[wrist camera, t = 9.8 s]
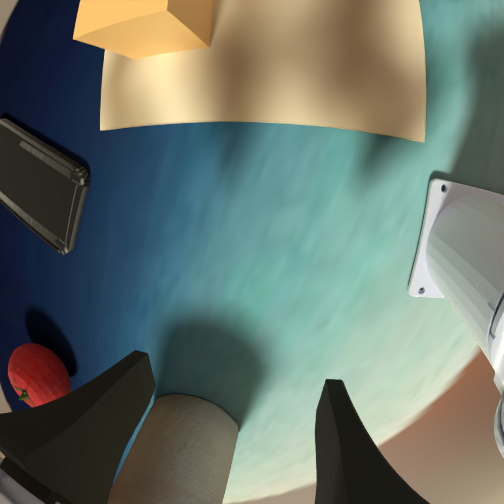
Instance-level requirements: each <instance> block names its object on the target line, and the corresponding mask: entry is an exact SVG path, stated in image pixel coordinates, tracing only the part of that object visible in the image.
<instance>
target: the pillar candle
mask: <svg viewBox="0 0 504 504" xmlns="http://www.w3.org/2000/svg"><path fill="white" fill-rule="evenodd" d="M238 431H239V429H238V425H237V423H236V422H235V421H234V420H233V419H232V418H231V417H230V416H229V415H228V414H227V413H226V412H225V411H224V410H223V409H221V408H220V407H218V406H217V405H215V404H213V403H211V402H209V401H206V400H204V399H200V398H197V397H194V396H189V395H183V394H170V395H165V396H162V397H159V398H157V399H156V400H155V401H154V403H153V405H152V407H151V409H150V411H149V413H148V415H147V416H146V418H145V420H144V422H143V424H142V426H141V429H140V430H139V432H138V434H137V436H136V438H135V441H134V443H133V445H132V447H131V449H130V451H129V453H128V455H127V457H126V459H125V461H124V464H123V466H122V468H121V470H120V472H119V474H118V476H117V478H116V480H115V482H114V485H113V487H112V489H111V492H110V495H109V499H108V503H107V504H222V501H223V498H224V494H225V489H226V485H227V481H228V477H229V473H230V469H231V464H232V459H233V455H234V450H235V446H236V441H237V437H238Z"/></svg>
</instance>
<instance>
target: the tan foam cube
mask: <svg viewBox="0 0 504 504" xmlns="http://www.w3.org/2000/svg"><path fill="white" fill-rule="evenodd" d="M212 8H213V0H81V1H80V5H79V10H78V14H77V19H76V25H75V30H74V36H73V39H74V40H78V41H81V42H85V43H88V44H91V45H94V46H97V47H100V48H103V49H106V50H109V51H112V52H115V53H118V54H121V55H123V56H126V57H129V58H131V59H134V60H135V59H139V58H144V57H149V56H155V55H160V54H166V53H172V52H179V51H187V50H195V49H205V48H210V34H211V20H212Z"/></svg>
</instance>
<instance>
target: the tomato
mask: <svg viewBox="0 0 504 504" xmlns="http://www.w3.org/2000/svg"><path fill="white" fill-rule="evenodd" d="M8 375H9V378H10V381H11V383H12V384H11V385H12V386H13V387H14V389H15V391H16V392H17V393H18V395H19V396H20V397H19V400H22V399H23V401H25V402H26V403H27V404H29V405H30V406H31V407H36V406H39V405H42V404H45V403H48V402H50V401H53V400H55V399H58V398H60V397H62V396H64V395H67V394H69V393H70V392H71V381H70V377H69V374H68V372H67V369H66V367H65V365H64V363H63V362H62V361H61V359H60V358H59V357H58V356H57V355H56V354H55V353H54V352H53V351H51V350H50V349H48V348H46V347H44V346H42V345H39V344H36V343H32V344H24V345H22V346H20V347H18V348H16V349H15V351H14V352H13V354H12V356H11V358H10V361H9V365H8Z"/></svg>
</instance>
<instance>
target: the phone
mask: <svg viewBox="0 0 504 504" xmlns="http://www.w3.org/2000/svg"><path fill="white" fill-rule="evenodd" d="M89 185H90V177H89V173H88V171H87V170H86V169H85V168H84V167H83V166H82V165H80V164H78V163H77V162H75V161H74V160H72V159H70V158H68V157H67V156H66V155H64V154H63V153H61V152H59V151H57V150H56V149H55V148H53V147H51V146H49V145H47V144H46V143H44V142H42V141H41V140H39V139H38V138H36V137H34V136H33V135H31V134H30V133H28V132H26V131H25V130H23V129H22V128H20V127H18V126H17V125H15V124H14V123H12V122H10V121H9V120H7V119H0V202H1V203H2V204H3V205H4V206H5V207H6V208H7V209H8V210H9V211H10V212H11V213H12V214H13V215H15V216H16V217H17V218H18V219H19V220H20V221H21V222H22V223H24V224H25V225H26V226H27V227H28V228H29V229H30V230H32V231H33V232H34V233H35V234H36V235H38V236H39V237H40V238H41V239H42V240H44V241H45V242H46V243H47V244H48V245H50V246H51V247H52V248H53V249H55V250H56V251H57V252H59V253H60V254H66V253H68V252H70V251H71V250H72V249H73V248H74V245H75V241H76V236H77V232H78V227H79V223H80V219H81V215H82V211H83V207H84V203H85V200H86V196H87V193H88V189H89Z"/></svg>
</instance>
